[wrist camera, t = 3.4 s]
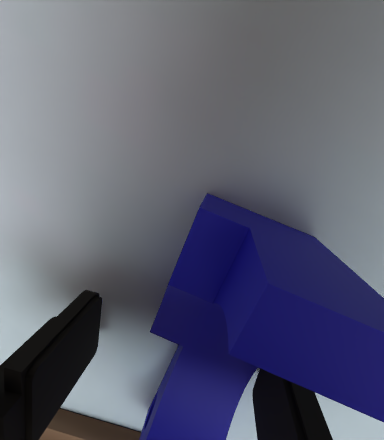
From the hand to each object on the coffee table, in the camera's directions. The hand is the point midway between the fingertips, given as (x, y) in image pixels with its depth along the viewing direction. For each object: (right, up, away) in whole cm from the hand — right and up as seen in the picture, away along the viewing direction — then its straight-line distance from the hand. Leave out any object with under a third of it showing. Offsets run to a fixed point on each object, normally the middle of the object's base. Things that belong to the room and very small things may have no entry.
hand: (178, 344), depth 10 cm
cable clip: (+1, 0, +1) cm, 2 cm away
